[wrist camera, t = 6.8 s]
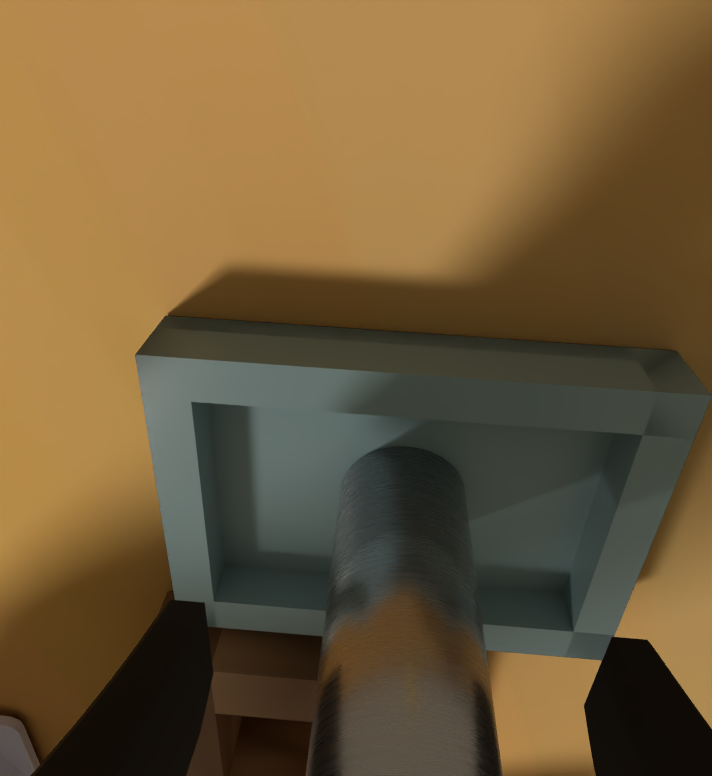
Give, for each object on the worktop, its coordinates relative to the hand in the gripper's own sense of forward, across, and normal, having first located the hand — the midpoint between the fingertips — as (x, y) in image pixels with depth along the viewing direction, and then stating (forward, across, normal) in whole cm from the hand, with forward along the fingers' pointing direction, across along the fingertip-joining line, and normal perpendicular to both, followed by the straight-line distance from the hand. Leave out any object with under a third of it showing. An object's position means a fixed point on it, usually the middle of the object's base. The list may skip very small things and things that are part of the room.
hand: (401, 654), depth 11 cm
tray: (+5, 0, 0) cm, 5 cm away
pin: (+4, 0, 0) cm, 4 cm away
